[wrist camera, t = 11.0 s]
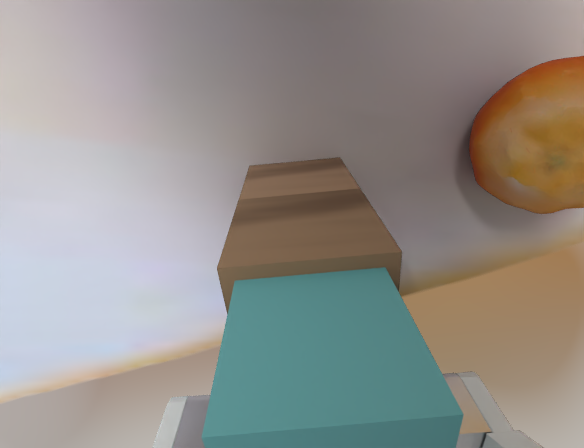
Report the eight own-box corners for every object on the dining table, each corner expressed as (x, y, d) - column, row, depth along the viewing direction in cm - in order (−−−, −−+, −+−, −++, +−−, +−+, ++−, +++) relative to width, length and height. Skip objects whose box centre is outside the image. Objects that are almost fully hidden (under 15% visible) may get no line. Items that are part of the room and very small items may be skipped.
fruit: (624, 156, 20) (673, 228, 14) (479, 174, 25) (474, 234, 19) (638, 14, 17) (709, 35, 11) (467, 66, 21) (455, 99, 16)
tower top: (238, 199, 16) (216, 268, 10) (359, 188, 16) (401, 251, 10) (255, 295, 18) (245, 390, 13) (359, 286, 18) (392, 378, 13)
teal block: (234, 280, 11) (201, 437, 6) (385, 266, 11) (464, 415, 6) (255, 382, 13) (241, 552, 8) (379, 371, 13) (433, 536, 8)
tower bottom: (249, 165, 21) (238, 199, 16) (339, 157, 21) (360, 188, 16) (261, 243, 24) (255, 295, 18) (341, 236, 24) (359, 286, 18)
